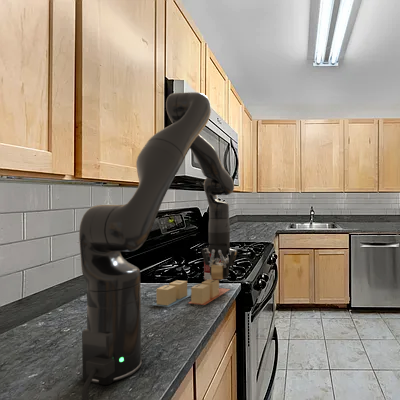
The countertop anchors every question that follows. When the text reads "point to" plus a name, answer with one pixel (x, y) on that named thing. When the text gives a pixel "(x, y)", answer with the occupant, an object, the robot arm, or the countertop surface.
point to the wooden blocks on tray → (206, 292)
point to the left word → (172, 293)
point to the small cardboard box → (217, 271)
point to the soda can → (207, 270)
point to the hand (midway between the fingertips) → (219, 276)
